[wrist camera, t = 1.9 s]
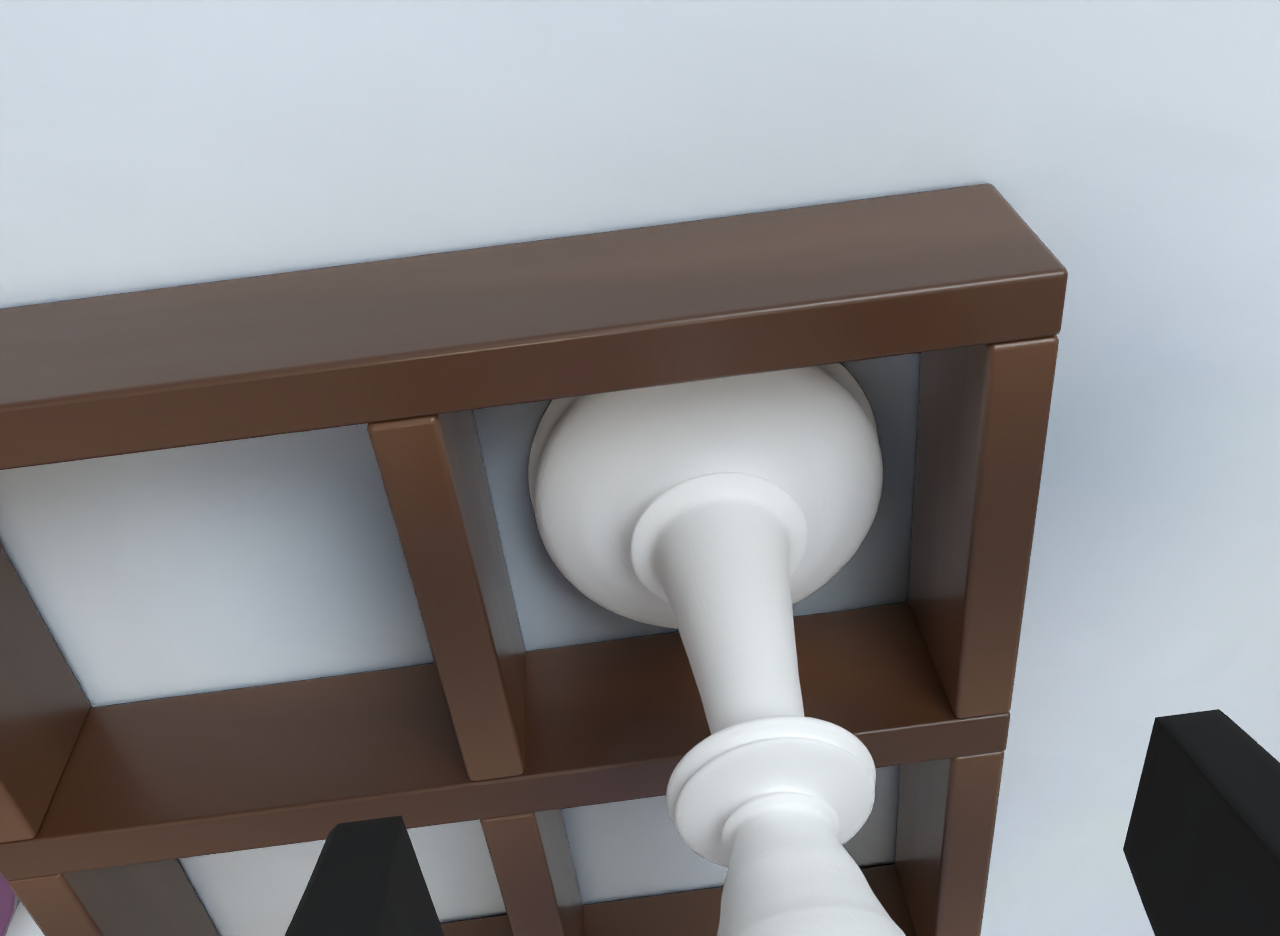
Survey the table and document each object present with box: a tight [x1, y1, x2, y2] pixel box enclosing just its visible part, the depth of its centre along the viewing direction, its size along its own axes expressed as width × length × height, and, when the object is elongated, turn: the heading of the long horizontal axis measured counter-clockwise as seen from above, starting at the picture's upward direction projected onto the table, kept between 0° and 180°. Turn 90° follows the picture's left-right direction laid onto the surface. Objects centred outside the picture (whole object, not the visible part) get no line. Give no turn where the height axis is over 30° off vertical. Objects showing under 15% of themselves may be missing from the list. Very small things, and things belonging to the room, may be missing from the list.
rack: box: [0, 184, 1068, 936], centre depth 17 cm, size 14×14×2 cm
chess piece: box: [528, 363, 906, 936], centre depth 12 cm, size 5×5×10 cm
